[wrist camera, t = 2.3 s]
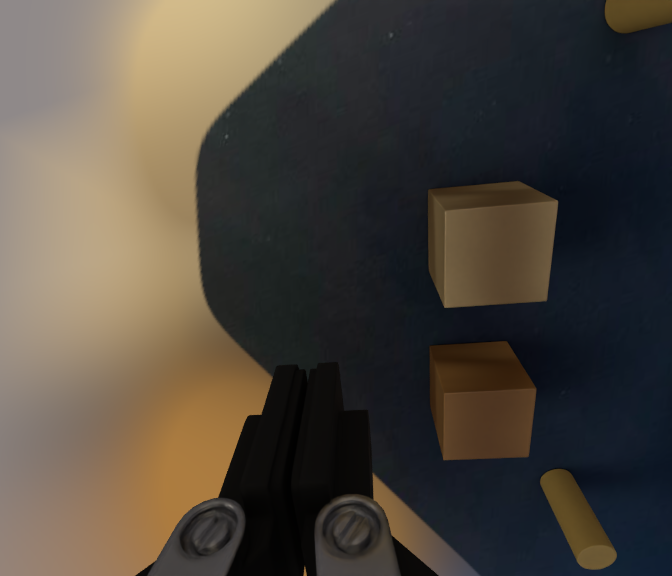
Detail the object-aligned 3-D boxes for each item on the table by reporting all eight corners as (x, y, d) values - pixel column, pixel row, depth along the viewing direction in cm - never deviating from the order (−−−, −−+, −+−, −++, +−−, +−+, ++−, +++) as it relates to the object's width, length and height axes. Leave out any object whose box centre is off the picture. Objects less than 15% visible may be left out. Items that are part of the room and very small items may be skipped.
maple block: (428, 271, 26) (444, 308, 21) (427, 189, 24) (444, 210, 19) (512, 264, 25) (547, 301, 21) (519, 180, 23) (559, 200, 19)
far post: (534, 486, 33) (570, 564, 27) (550, 464, 32) (591, 541, 26) (561, 494, 33) (602, 573, 27) (578, 473, 32) (625, 551, 26)
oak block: (430, 405, 30) (443, 460, 25) (429, 345, 28) (443, 393, 23) (502, 401, 29) (529, 457, 25) (506, 340, 27) (537, 388, 23)
